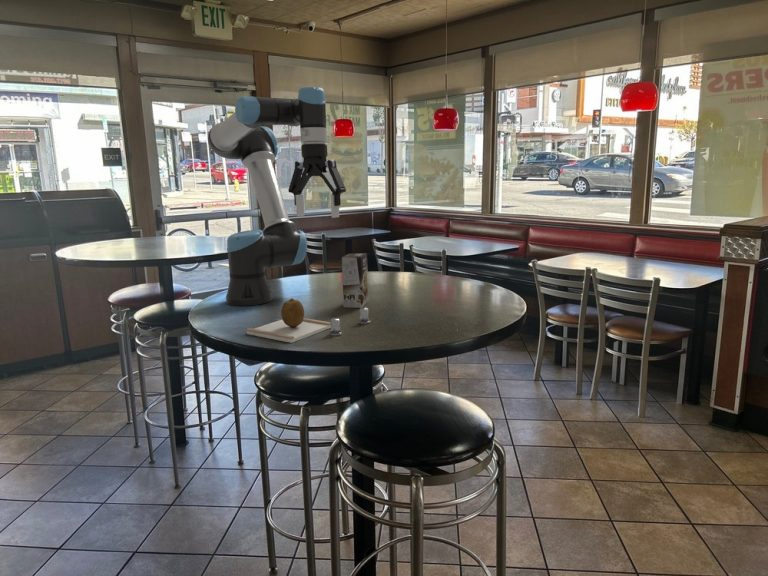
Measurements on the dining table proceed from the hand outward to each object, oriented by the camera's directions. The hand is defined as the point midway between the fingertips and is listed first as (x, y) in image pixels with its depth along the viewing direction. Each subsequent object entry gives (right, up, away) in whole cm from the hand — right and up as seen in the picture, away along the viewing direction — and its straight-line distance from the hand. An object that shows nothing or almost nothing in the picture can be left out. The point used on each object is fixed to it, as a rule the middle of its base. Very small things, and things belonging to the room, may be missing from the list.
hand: (317, 217), depth 165 cm
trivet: (-6, -33, -16) cm, 37 cm away
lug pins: (+11, -32, -15) cm, 37 cm away
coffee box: (+11, -27, +12) cm, 31 cm away
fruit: (-5, -32, -16) cm, 36 cm away
